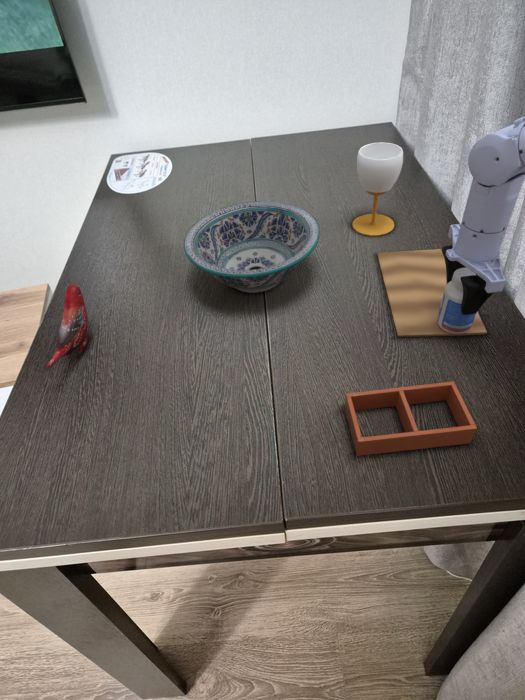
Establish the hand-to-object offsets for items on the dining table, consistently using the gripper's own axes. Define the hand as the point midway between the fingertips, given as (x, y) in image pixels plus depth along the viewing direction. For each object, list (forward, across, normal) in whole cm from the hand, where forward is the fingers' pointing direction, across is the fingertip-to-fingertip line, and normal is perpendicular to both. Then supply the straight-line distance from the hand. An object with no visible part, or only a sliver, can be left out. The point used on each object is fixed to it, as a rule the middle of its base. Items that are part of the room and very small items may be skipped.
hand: (460, 300), depth 69 cm
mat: (+5, -10, -1) cm, 11 cm away
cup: (+6, -34, -5) cm, 34 cm away
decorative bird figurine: (+6, -3, -63) cm, 64 cm away
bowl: (+6, -20, -32) cm, 38 cm away
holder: (+5, +18, -14) cm, 23 cm away
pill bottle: (+5, 0, 0) cm, 5 cm away
